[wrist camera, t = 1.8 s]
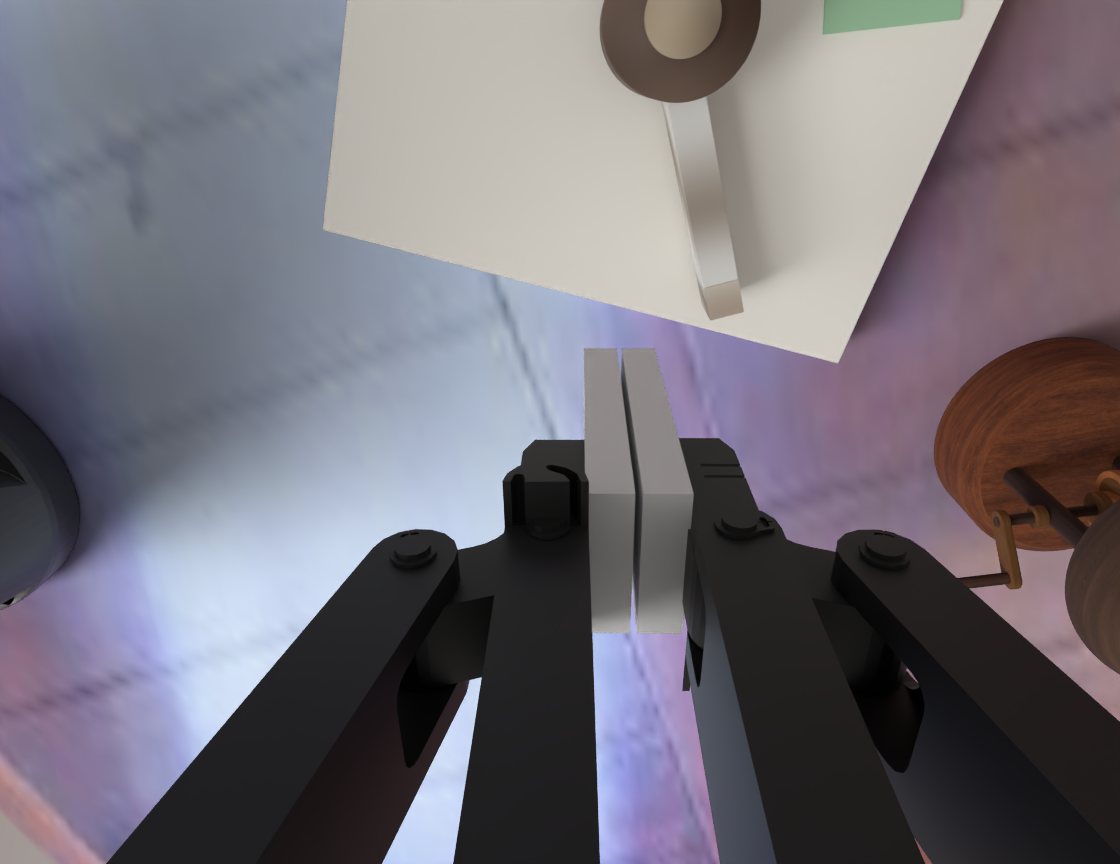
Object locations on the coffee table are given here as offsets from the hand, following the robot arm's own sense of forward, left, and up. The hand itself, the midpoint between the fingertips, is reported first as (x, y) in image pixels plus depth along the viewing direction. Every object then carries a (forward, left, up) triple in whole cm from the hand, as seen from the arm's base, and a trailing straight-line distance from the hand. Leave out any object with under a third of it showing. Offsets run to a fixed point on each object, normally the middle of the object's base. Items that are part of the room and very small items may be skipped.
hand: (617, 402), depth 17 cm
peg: (+2, +5, -16) cm, 17 cm away
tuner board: (0, +9, -18) cm, 20 cm away
